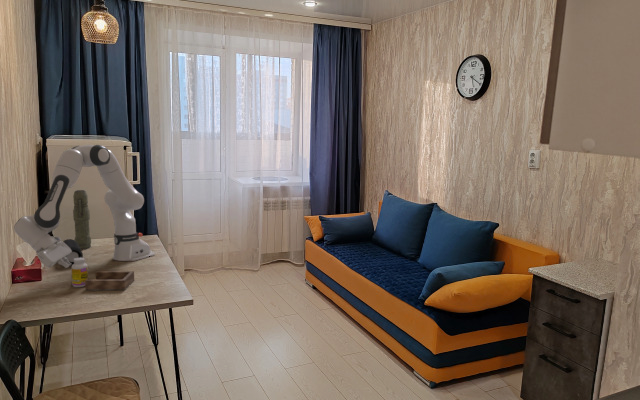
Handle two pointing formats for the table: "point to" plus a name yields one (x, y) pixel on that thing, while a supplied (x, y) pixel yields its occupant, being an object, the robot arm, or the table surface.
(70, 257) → the portable speaker
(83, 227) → the thermos
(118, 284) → the wooden tray
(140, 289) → the table surface
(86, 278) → the supplement bottle
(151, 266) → the table surface
